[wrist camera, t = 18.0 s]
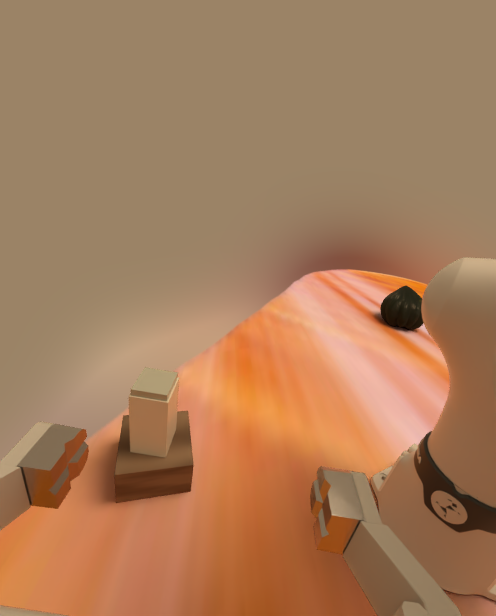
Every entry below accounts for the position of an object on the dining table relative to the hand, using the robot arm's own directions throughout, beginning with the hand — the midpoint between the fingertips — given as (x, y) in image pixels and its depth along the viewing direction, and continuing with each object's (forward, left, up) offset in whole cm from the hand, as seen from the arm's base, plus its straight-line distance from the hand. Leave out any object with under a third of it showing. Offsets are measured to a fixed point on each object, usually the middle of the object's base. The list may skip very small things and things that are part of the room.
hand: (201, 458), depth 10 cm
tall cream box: (-9, -24, -28) cm, 38 cm away
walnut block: (-9, -24, -34) cm, 43 cm away
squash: (-105, -31, -34) cm, 115 cm away
